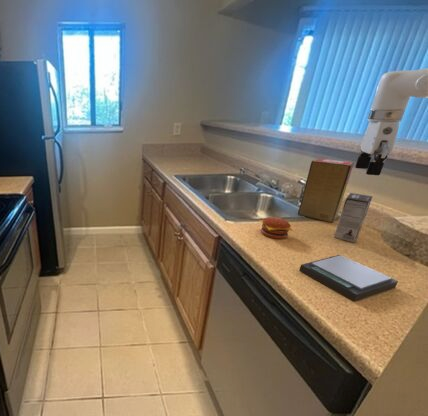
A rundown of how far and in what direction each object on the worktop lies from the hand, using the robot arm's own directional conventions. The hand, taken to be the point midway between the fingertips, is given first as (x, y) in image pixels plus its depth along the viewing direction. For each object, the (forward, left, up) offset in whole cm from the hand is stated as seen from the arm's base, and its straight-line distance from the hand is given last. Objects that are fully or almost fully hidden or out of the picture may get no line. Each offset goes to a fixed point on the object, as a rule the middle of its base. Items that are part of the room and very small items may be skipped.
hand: (366, 171), depth 89 cm
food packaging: (+22, -19, -27) cm, 40 cm away
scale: (-14, +21, -27) cm, 37 cm away
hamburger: (+15, +15, -27) cm, 35 cm away
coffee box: (+4, -9, -27) cm, 29 cm away
